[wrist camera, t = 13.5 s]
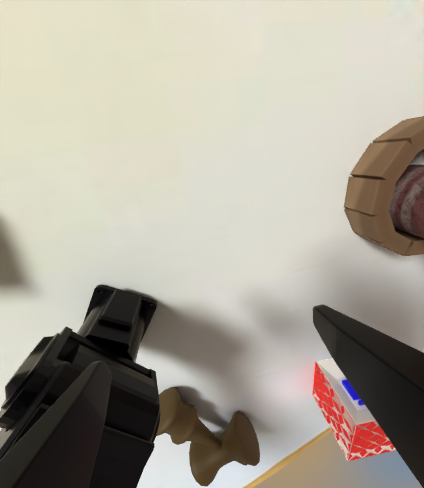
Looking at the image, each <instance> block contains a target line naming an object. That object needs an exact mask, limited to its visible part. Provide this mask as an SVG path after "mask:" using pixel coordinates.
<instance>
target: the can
mask: <svg viewBox="0 0 424 488" xmlns="http://www.w3.org/2000/svg"><path fill="white" fill-rule="evenodd" d="M389 213H390V216H391V219H392V222H393V226H394V228H395V229H398V230H401V231H404V232H407V233H410V234H413V235H416V236H419V237H422V238H424V165H410V166H408V167H407V168H406V169H405V171H404V172H403V173H402V175H401V176H400V178H399V179H398V180H397V182H396V185H395V189H394V193H393V197H392V200H391V204H390V208H389Z"/></svg>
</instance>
